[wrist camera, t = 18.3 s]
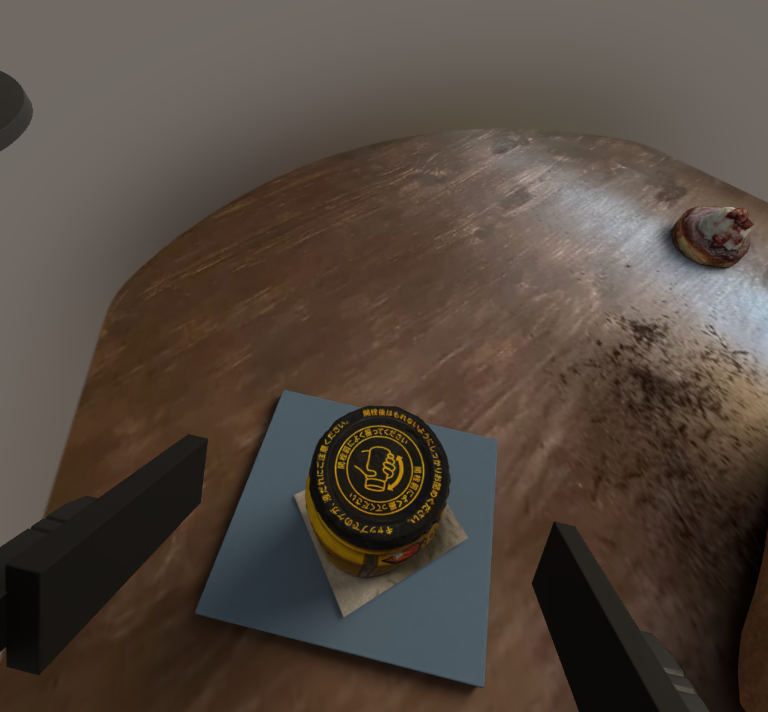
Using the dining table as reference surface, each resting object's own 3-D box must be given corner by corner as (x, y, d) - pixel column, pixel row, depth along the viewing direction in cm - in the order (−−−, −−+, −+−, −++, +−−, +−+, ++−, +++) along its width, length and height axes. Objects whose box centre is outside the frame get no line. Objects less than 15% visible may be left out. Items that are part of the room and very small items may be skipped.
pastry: (699, 273, 40) (741, 236, 36) (653, 226, 44) (686, 186, 40) (755, 262, 42) (801, 225, 38) (707, 217, 46) (744, 178, 41)
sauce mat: (198, 612, 22) (193, 613, 21) (284, 393, 29) (283, 389, 28) (479, 685, 21) (484, 688, 20) (494, 443, 28) (498, 439, 28)
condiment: (294, 495, 24) (258, 425, 14) (408, 437, 27) (446, 344, 17) (343, 617, 21) (343, 638, 11) (467, 538, 24) (557, 497, 14)
